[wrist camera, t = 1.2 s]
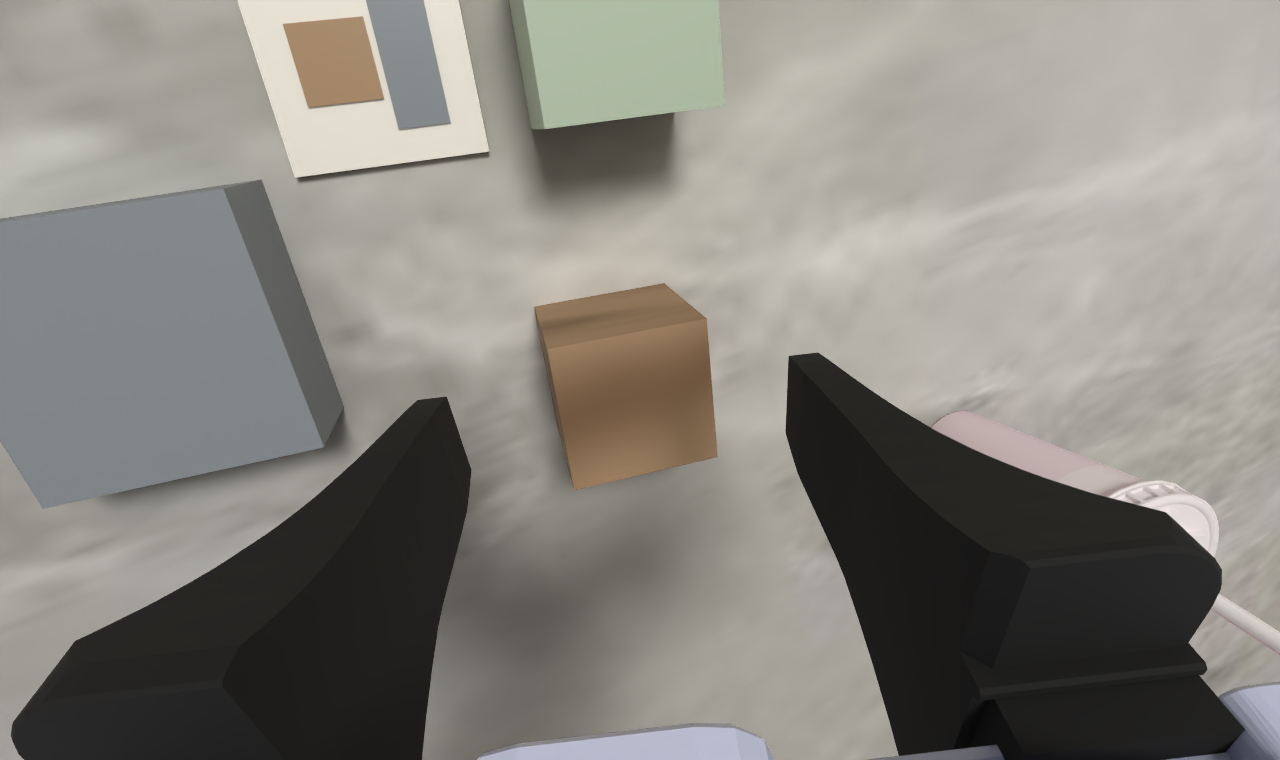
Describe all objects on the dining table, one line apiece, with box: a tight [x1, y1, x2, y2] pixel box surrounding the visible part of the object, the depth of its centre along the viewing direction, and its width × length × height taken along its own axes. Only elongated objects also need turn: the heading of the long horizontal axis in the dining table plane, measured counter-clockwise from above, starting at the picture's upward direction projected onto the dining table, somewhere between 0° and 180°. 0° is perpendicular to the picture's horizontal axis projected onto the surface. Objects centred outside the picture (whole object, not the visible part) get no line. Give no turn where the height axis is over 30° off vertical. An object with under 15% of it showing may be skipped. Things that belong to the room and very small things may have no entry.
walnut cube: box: [535, 284, 717, 490], centre depth 22 cm, size 5×5×5 cm
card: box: [237, 0, 489, 178], centre depth 19 cm, size 6×6×1 cm
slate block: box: [0, 180, 344, 509], centre depth 19 cm, size 8×8×4 cm
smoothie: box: [931, 411, 1280, 655], centre depth 24 cm, size 6×6×14 cm
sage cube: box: [509, 0, 725, 129], centre depth 18 cm, size 5×5×5 cm
